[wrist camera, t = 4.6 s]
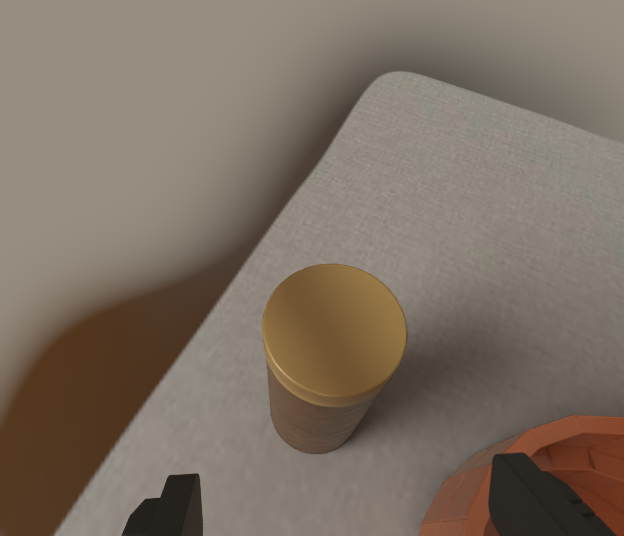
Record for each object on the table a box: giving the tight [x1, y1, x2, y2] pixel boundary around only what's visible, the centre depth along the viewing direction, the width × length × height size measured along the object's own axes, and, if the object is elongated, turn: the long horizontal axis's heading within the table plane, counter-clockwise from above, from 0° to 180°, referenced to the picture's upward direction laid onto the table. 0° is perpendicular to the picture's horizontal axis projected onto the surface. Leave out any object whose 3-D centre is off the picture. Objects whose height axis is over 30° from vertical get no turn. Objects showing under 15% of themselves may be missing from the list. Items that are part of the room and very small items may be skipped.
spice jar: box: [262, 264, 407, 454], centre depth 18 cm, size 5×5×10 cm
